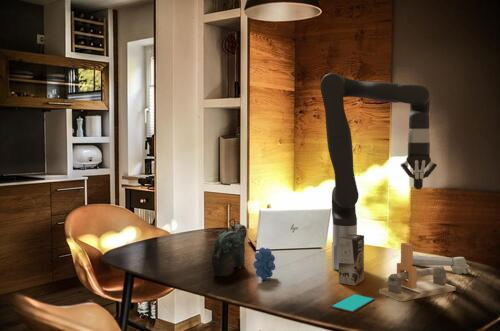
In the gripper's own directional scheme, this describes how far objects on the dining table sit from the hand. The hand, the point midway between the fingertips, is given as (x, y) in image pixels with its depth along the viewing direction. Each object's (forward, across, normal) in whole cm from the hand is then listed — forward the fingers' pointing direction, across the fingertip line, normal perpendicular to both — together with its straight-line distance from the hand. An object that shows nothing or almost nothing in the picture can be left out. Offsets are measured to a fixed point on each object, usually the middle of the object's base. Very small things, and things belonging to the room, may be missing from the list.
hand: (418, 189), depth 182 cm
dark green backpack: (+32, -69, +4) cm, 76 cm away
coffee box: (+32, -25, -8) cm, 42 cm away
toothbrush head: (+32, +10, +11) cm, 36 cm away
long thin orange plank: (+29, -9, -22) cm, 38 cm away
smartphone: (+33, -28, -32) cm, 54 cm away
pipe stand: (+32, -5, -19) cm, 38 cm away
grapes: (+32, -55, -8) cm, 64 cm away
